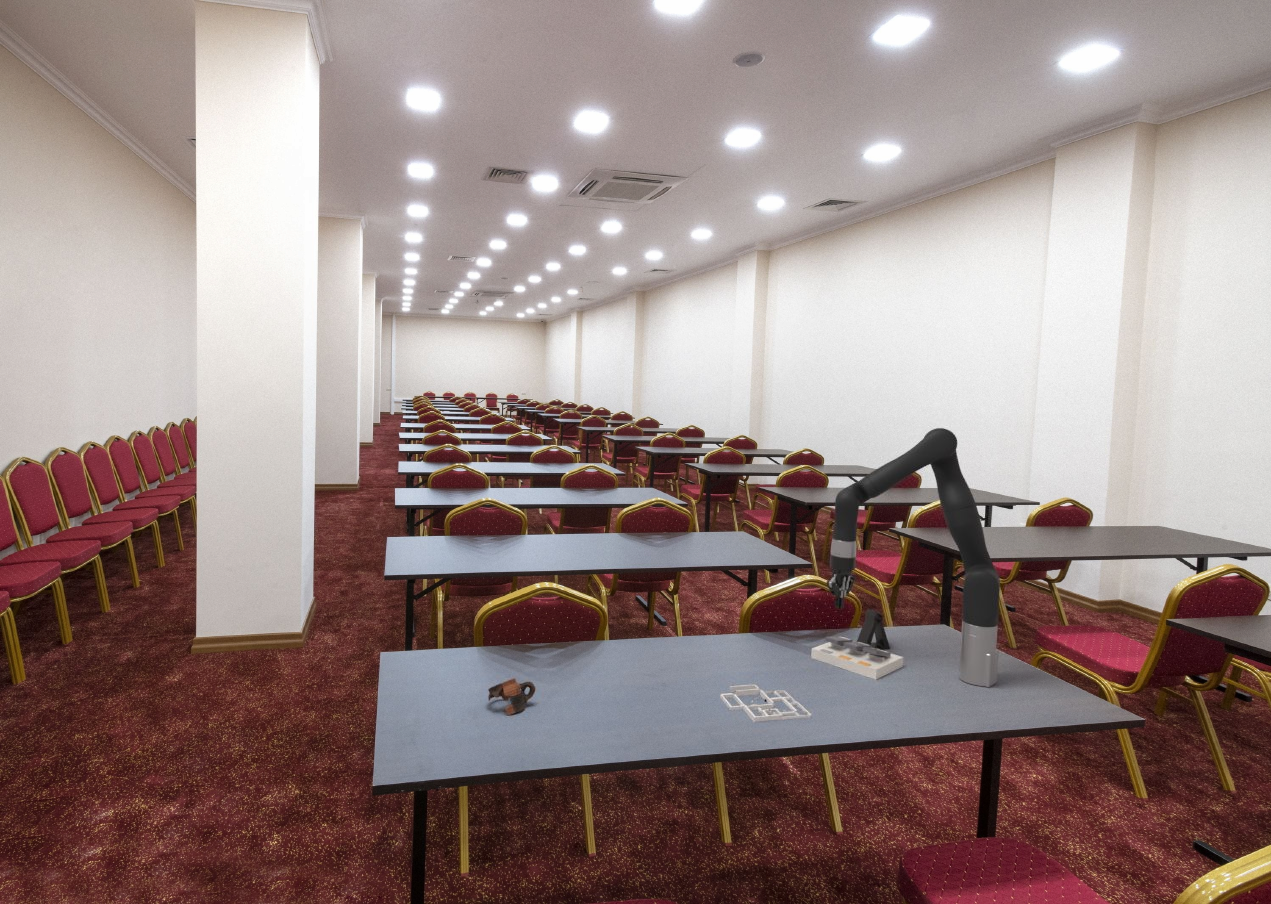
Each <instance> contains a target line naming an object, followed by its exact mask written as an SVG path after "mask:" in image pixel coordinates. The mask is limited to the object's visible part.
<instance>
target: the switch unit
mask: <svg viewBox="0 0 1271 904" xmlns="http://www.w3.org/2000/svg"><path fill="white" fill-rule="evenodd" d="M873 649H875V648H873ZM810 653H811V655H810V657H811V659H813V660H816V661H819V662H822V663H825V664H827V665H830V666H833V667H837V668H840V669H843V670H846V671H849V672H852V673H855V674H857V675H861V676H864V677H866V678H867V677H868V678H869V679H872V680H878V679H880V678H882V677H884V676H886V675H889V674H891V673H893V672H894V671H897V670H899V669H901V668H903V667H904V656H901V655H897V654H895V653H891V655H890V657H886V656H879V655H874V654H871V653H868V652H865V651H863V650H853V649H850V648H846V647H843V644H840V645H837V644H833V643H830V642H825V643H822V644H820V645H818V646H817V645H816V646H815V647H811V652H810Z"/></svg>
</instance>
